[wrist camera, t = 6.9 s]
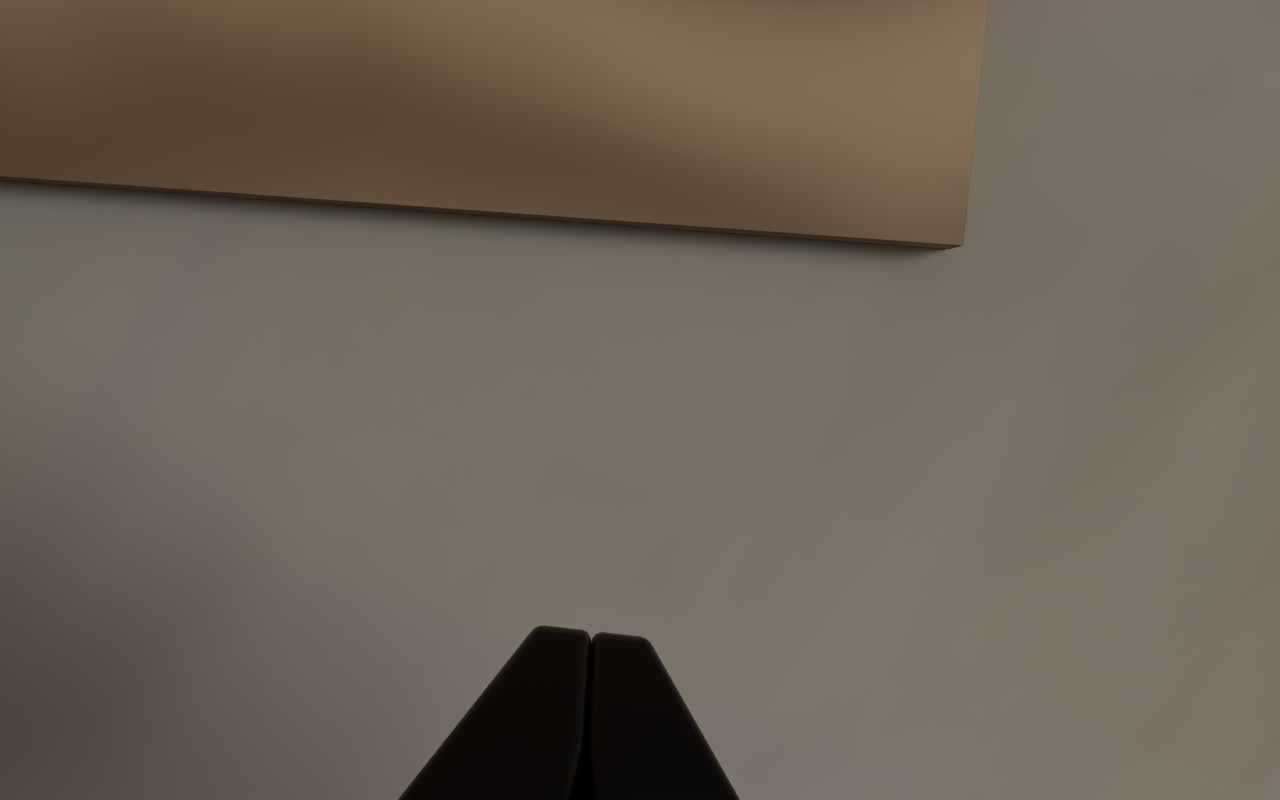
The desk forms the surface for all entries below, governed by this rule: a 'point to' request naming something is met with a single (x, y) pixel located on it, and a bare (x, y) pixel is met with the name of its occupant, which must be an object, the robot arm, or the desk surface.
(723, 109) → the switch board
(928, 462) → the desk surface
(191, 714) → the desk surface
